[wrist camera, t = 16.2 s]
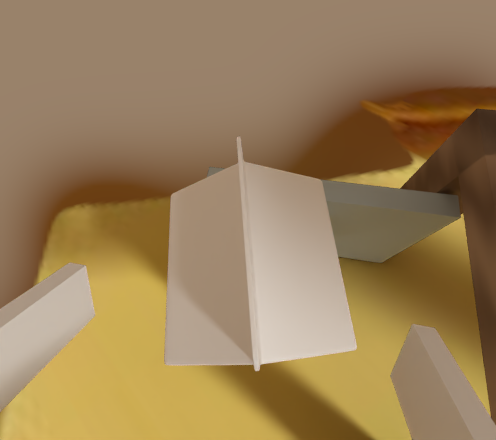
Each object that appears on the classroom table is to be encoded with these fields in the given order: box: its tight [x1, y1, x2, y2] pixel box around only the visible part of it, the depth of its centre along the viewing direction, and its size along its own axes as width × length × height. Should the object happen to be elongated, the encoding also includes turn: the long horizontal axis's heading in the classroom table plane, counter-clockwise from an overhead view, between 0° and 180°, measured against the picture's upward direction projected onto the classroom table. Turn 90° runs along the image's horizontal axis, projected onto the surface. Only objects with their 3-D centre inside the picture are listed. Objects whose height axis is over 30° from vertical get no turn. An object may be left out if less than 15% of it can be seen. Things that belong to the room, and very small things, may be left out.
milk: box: [164, 136, 357, 371], centre depth 16 cm, size 6×6×22 cm
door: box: [207, 167, 461, 263], centre depth 23 cm, size 16×3×12 cm, turn 80°
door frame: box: [400, 109, 496, 425], centre depth 17 cm, size 24×3×16 cm, turn 170°
